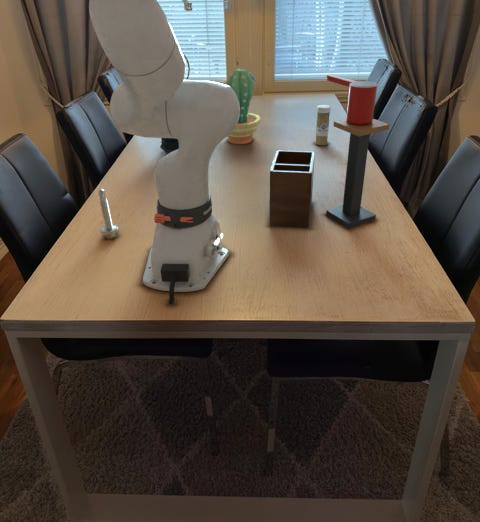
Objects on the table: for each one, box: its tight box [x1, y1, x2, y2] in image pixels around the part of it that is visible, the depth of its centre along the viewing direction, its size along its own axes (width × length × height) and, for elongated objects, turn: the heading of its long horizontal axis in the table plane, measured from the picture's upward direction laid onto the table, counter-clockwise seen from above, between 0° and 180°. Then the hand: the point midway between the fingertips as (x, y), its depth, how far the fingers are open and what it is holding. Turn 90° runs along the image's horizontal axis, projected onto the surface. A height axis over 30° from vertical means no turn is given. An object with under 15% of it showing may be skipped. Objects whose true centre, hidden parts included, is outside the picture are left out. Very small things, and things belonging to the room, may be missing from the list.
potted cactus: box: [226, 67, 262, 145], centre depth 169 cm, size 15×15×25 cm
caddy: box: [269, 149, 316, 229], centre depth 122 cm, size 14×10×15 cm
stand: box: [325, 118, 390, 230], centre depth 117 cm, size 9×9×25 cm
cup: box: [326, 73, 378, 126], centre depth 111 cm, size 15×6×9 cm, turn 30°
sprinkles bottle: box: [314, 104, 331, 146], centre depth 167 cm, size 5×5×14 cm
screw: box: [98, 188, 120, 239], centre depth 115 cm, size 13×5×5 cm
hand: (208, 10), depth 110 cm, fingers open, 8 cm apart
